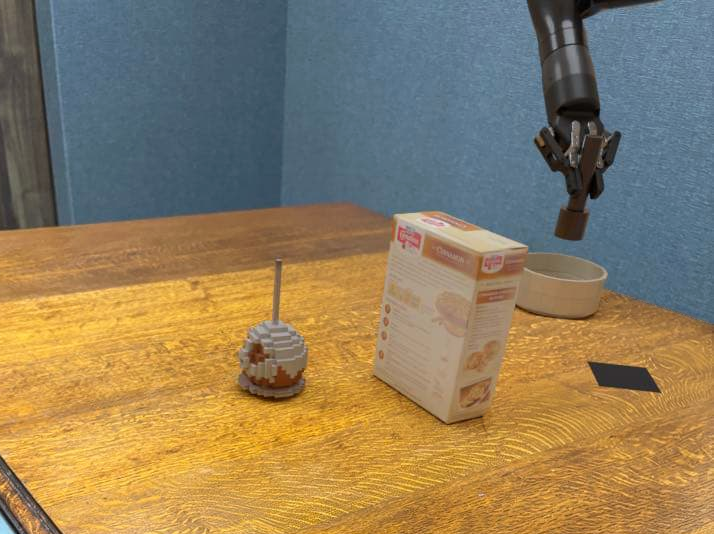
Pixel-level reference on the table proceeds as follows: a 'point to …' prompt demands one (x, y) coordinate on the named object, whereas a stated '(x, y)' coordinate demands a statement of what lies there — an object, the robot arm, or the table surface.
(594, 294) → the bowl
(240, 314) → the table surface
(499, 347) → the coffeecake box
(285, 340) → the decorative ornament
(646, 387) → the coaster
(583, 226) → the pestle
